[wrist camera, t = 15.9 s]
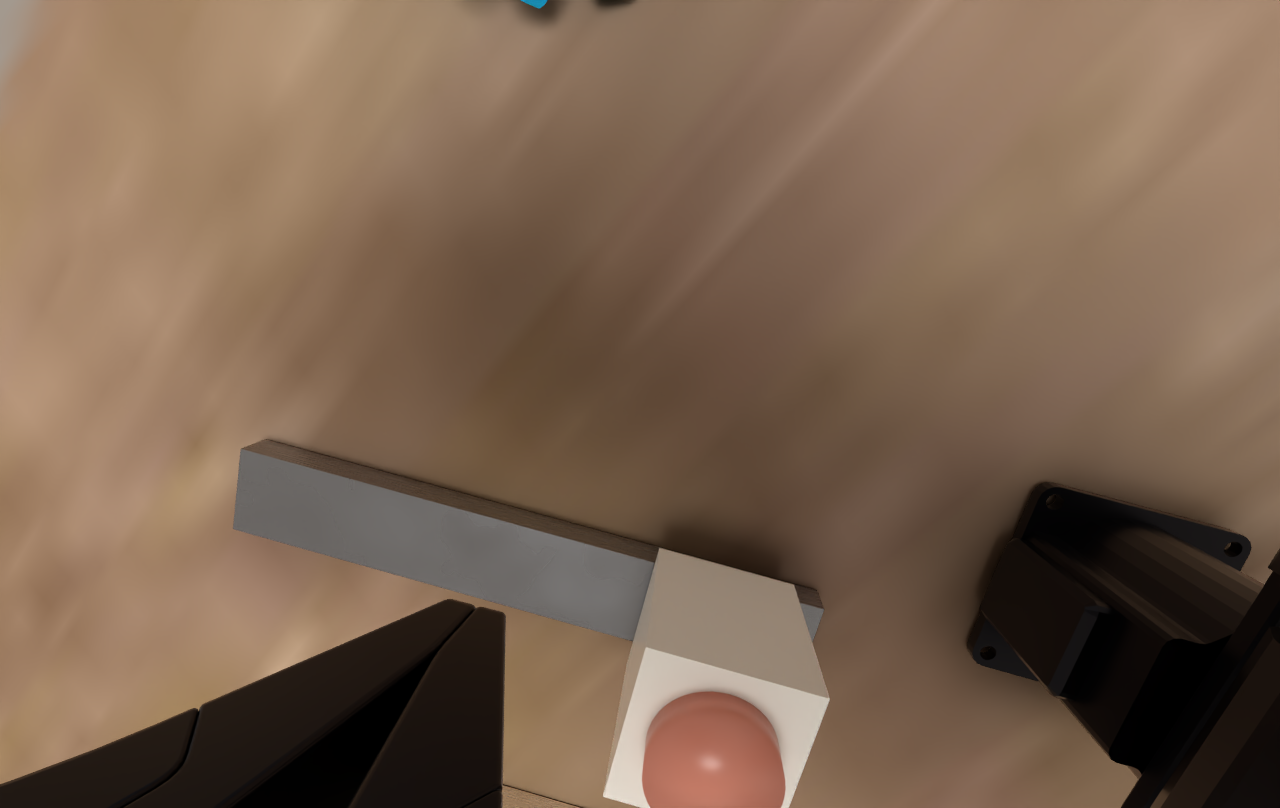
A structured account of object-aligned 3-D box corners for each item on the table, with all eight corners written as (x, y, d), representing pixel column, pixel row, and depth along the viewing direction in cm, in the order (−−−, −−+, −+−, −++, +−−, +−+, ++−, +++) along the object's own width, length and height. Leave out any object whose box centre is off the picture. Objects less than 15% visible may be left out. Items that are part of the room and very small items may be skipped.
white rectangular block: (794, 585, 19) (839, 731, 13) (754, 700, 20) (779, 887, 14) (659, 547, 19) (641, 675, 13) (626, 664, 20) (596, 832, 14)
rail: (816, 590, 20) (824, 609, 19) (790, 664, 21) (796, 687, 20) (266, 439, 21) (240, 448, 20) (257, 515, 22) (232, 529, 21)
